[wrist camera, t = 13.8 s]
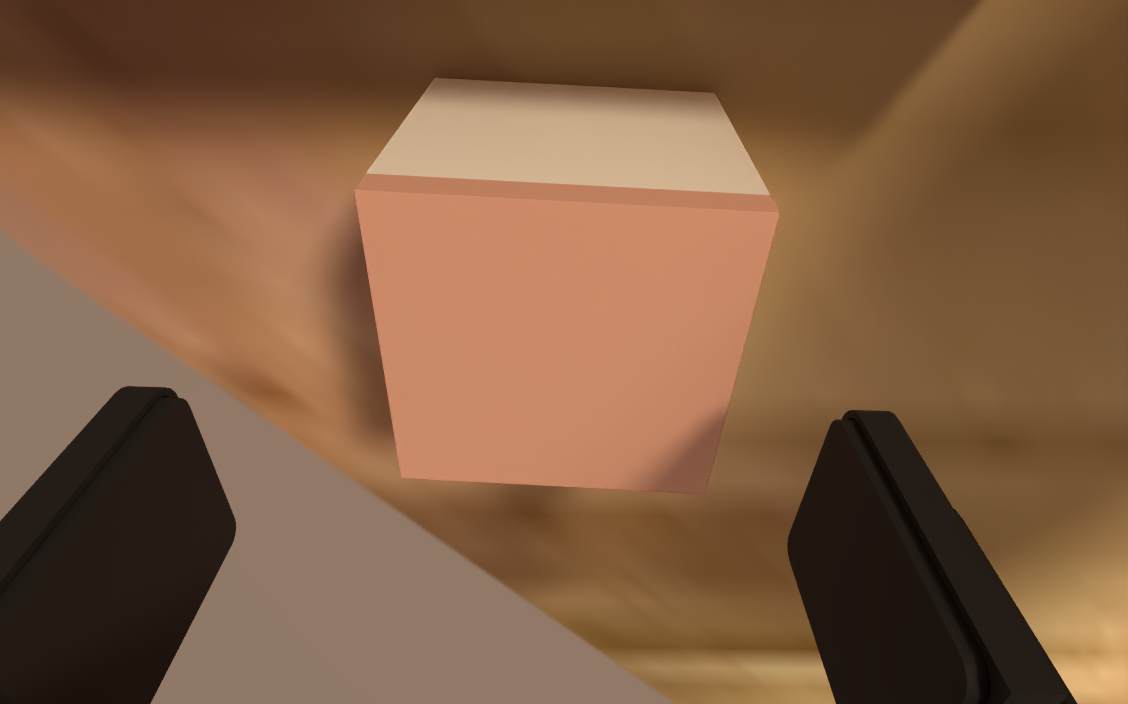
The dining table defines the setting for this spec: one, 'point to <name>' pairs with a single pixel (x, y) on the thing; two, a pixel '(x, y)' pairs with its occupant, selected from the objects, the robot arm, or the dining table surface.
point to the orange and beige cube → (563, 282)
